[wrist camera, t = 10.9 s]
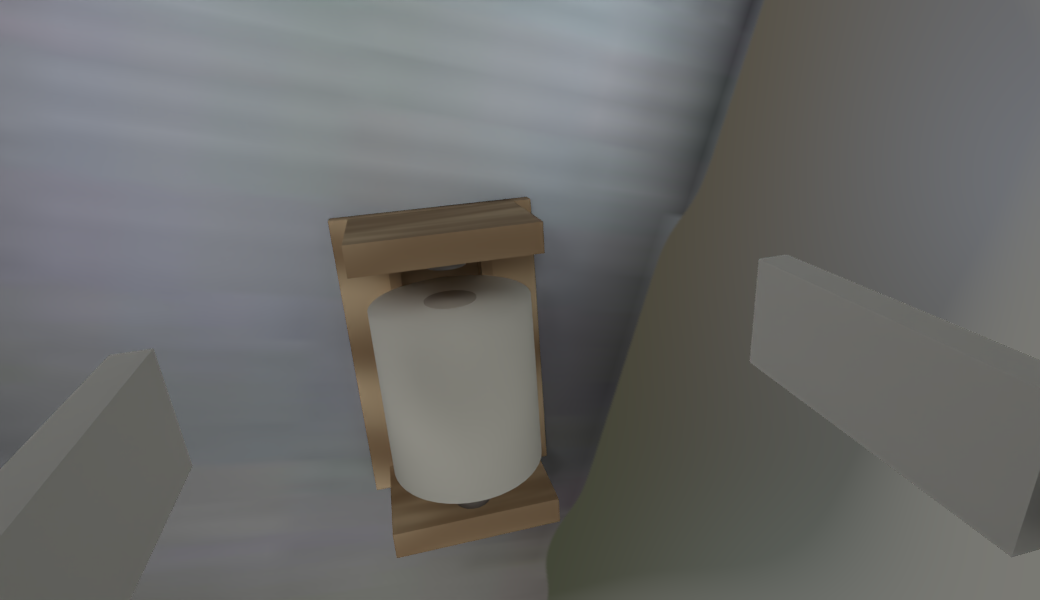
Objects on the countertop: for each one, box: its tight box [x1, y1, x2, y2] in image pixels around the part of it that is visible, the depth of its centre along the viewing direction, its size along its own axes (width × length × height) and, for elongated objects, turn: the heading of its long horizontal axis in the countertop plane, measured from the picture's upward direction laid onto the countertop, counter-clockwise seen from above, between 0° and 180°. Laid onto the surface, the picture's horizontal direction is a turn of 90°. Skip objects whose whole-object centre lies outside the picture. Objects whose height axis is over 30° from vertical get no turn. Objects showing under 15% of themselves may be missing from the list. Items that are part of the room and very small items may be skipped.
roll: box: [367, 275, 542, 504], centre depth 30 cm, size 9×8×8 cm
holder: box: [328, 197, 560, 558], centre depth 32 cm, size 17×11×7 cm, turn 4°
